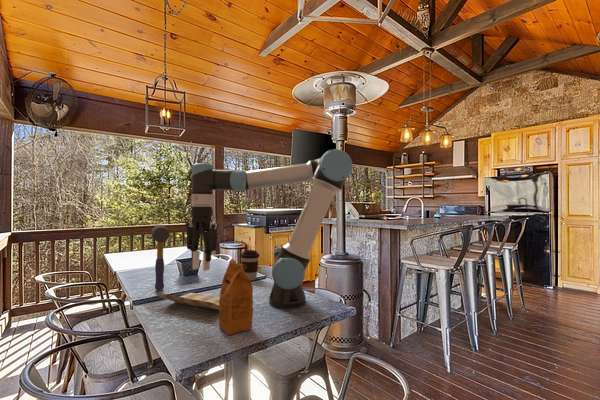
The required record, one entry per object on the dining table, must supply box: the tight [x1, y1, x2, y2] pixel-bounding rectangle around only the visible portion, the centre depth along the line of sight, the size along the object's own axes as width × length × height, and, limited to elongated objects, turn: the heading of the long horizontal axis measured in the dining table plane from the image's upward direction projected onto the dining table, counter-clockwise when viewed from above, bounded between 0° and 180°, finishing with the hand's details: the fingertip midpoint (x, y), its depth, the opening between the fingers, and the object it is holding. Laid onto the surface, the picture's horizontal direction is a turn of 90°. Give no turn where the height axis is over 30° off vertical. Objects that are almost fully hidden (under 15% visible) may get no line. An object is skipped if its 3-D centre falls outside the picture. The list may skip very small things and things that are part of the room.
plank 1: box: [157, 293, 197, 307], centre depth 121 cm, size 12×9×1 cm
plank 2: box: [184, 298, 219, 311], centre depth 116 cm, size 12×9×1 cm
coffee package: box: [218, 258, 254, 336], centre depth 103 cm, size 10×12×22 cm
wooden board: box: [175, 292, 220, 312], centre depth 127 cm, size 25×9×2 cm, turn 67°
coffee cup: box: [240, 249, 260, 281], centre depth 167 cm, size 10×10×15 cm
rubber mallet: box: [150, 224, 171, 291], centre depth 144 cm, size 12×8×30 cm, turn 29°
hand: (201, 269), depth 114 cm, fingers open, 4 cm apart
